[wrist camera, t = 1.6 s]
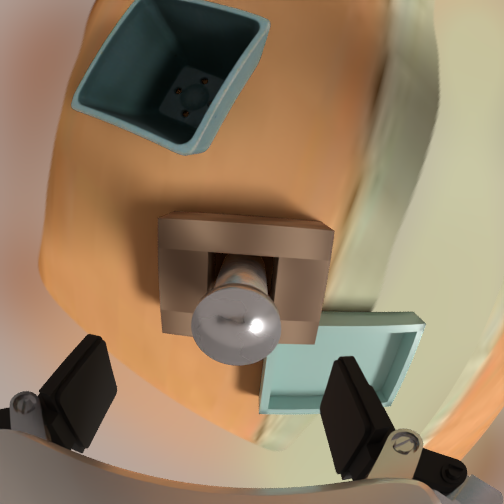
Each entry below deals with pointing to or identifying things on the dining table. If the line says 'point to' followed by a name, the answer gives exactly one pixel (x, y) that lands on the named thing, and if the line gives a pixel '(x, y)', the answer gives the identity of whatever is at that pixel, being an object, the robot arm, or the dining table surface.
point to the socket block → (248, 243)
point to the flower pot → (173, 70)
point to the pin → (237, 314)
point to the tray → (330, 349)
